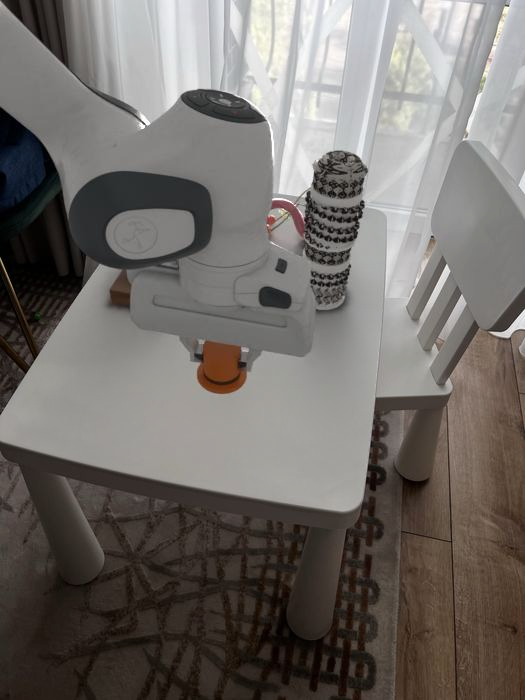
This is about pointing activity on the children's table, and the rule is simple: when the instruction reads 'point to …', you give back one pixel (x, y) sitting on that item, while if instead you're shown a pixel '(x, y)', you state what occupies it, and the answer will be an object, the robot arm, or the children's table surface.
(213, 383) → the hat
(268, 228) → the anatomy model
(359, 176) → the decorative candle
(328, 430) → the children's table surface
